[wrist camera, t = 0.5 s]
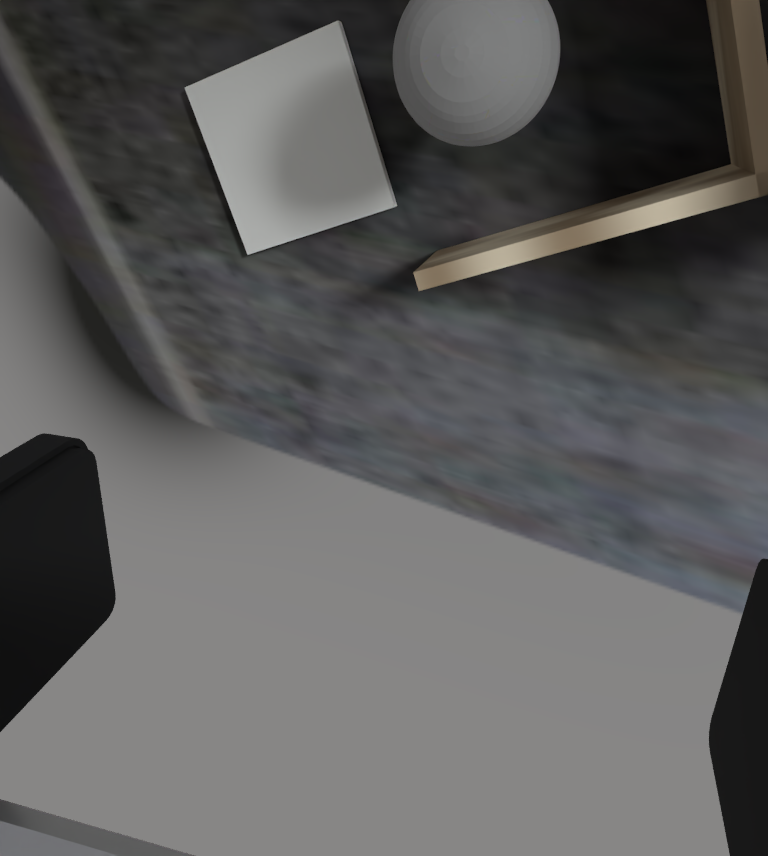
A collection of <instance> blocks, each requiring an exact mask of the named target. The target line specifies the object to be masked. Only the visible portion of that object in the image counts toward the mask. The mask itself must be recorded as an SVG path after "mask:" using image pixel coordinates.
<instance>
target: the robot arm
mask: <svg viewBox="0 0 768 856" xmlns="http://www.w3.org/2000/svg"><path fill="white" fill-rule="evenodd" d="M114 604H115V588H114V580H113V574H112V567H111V560H110V554H109V546H108V539H107V533H106V526H105V519H104V512H103V505H102V498H101V491H100V484H99V477H98V470H97V463H96V459H95V456H94V454H93V453H92V452H91V451H90V450H88V448H87V446H86V445H85V443H84V442H83V441H82V440H80V439H77V438H71V437H64V436H58V435H51V434H40V435H38V436H36V437H34V438H33V439H31V440H29V441H27V442H26V443H24V444H22V445H20V446H19V447H17V448H15V449H14V450H12V451H10V452H9V453H7V454H5V455H3V456H2V457H0V732H1V731H2V730H3V729H4V727H5V726H6V725H7V724H8V723H9V722H10V721H11V720H12V719H13V718H14V717H15V716H16V715H17V714H18V713H19V712H20V711H21V710H22V709H23V708H24V706H25V705H26V704H27V703H28V702H29V701H30V700H31V699H32V698H33V697H34V696H35V695H36V694H37V693H38V692H39V691H40V690H41V689H42V687H43V686H44V685H45V684H46V683H47V682H48V681H49V680H50V679H51V678H52V677H53V676H54V675H55V674H56V673H57V672H58V671H59V670H60V669H61V667H62V666H63V665H64V664H65V663H66V662H67V661H68V660H69V659H70V658H71V657H72V656H73V655H74V654H75V653H76V651H77V650H78V649H80V647H81V646H82V645H83V644H84V643H85V642H86V641H87V640H88V639H89V638H90V637H91V636H92V635H93V634H94V633H95V632H96V631H97V630H98V629H99V627H100V626H101V625H102V624H103V623H104V622H105V621H106V620H107V619H108V617H109V616H110V614H111V612H112V611H113V608H114ZM709 747H710V754H711V759H712V764H713V770H714V775H715V780H716V785H717V790H718V796H719V801H720V805H721V811H722V816H723V821H724V826H725V832H726V837H727V842H728V848H729V853H730V856H768V559H762V560H761V561H760V562H759V564H758V566H757V569H756V572H755V575H754V578H753V582H752V585H751V588H750V592H749V595H748V598H747V602H746V605H745V608H744V612H743V615H742V618H741V622H740V625H739V629H738V632H737V635H736V638H735V642H734V645H733V648H732V652H731V655H730V658H729V662H728V665H727V668H726V672H725V675H724V678H723V682H722V685H721V688H720V692H719V695H718V698H717V702H716V705H715V708H714V712H713V715H712V718H711V723H710V731H709ZM0 856H194V855H191V854H188V853H184V852H181V851H177V850H173V849H170V848H167V847H163V846H160V845H157V844H153V843H149V842H146V841H143V840H139V839H136V838H132V837H129V836H125V835H122V834H119V833H115V832H112V831H108V830H105V829H101V828H98V827H94V826H91V825H87V824H84V823H80V822H77V821H74V820H70V819H67V818H63V817H60V816H56V815H53V814H49V813H46V812H42V811H39V810H35V809H32V808H29V807H25V806H22V805H18V804H15V803H11V802H8V801H4V800H1V799H0Z"/></svg>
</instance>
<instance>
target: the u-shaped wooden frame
mask: <svg viewBox="0 0 768 856" xmlns="http://www.w3.org/2000/svg"><path fill="white" fill-rule="evenodd" d="M706 4H707V10H708V17H709V23H710V30H711V36H712V43H713V49H714V56H715V62H716V69H717V75H718V82H719V88H720V95H721V101H722V108H723V114H724V121H725V128H726V134H727V141H728V147H729V154H730V160H731V164H730V165H726V166H723V167H720V168H716V169H713V170H709V171H706V172H703V173H699V174H696V175H692V176H689V177H686V178H682V179H679V180H675V181H672V182H669V183H665V184H662V185H658V186H655V187H652V188H648V189H645V190H642V191H638V192H635V193H631V194H628V195H625V196H621V197H618V198H614V199H611V200H608V201H604V202H601V203H597V204H594V205H591V206H587V207H584V208H580V209H577V210H574V211H570V212H567V213H563V214H560V215H557V216H553V217H550V218H547V219H543V220H540V221H536V222H533V223H530V224H526V225H523V226H519V227H516V228H513V229H509V230H506V231H502V232H499V233H496V234H492V235H489V236H485V237H482V238H479V239H475V240H472V241H469V242H465V243H462V244H458V245H455V246H452V247H448V248H445V249H441V250H438V251H436V252H435V253H434V254H433V255H432V256H431V257H430V258H428V259H427V260H426V261H425V262H424V263H423V264H422V265H421V266H420V267H419V268H418V269H416V270H415V271H414V272H413V273H414V277H415V280H416V283H417V287H418V290H419V291H421V290H425V289H429V288H432V287H436V286H439V285H443V284H447V283H450V282H454V281H458V280H461V279H465V278H468V277H472V276H476V275H479V274H483V273H486V272H490V271H494V270H497V269H501V268H505V267H508V266H512V265H515V264H519V263H523V262H526V261H530V260H534V259H537V258H541V257H544V256H548V255H552V254H555V253H559V252H562V251H566V250H570V249H573V248H577V247H581V246H584V245H588V244H591V243H595V242H599V241H602V240H606V239H610V238H613V237H617V236H620V235H624V234H628V233H631V232H635V231H638V230H642V229H646V228H649V227H653V226H657V225H660V224H664V223H667V222H671V221H675V220H678V219H682V218H686V217H689V216H693V215H696V214H700V213H704V212H707V211H711V210H715V209H718V208H722V207H725V206H729V205H733V204H736V203H740V202H743V201H747V200H751V199H754V198H758V197H762V196H765V195H768V64H767V57H766V49H765V41H764V34H763V26H762V19H761V11H760V3H759V0H706Z"/></svg>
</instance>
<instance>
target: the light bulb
mask: <svg viewBox="0 0 768 856" xmlns="http://www.w3.org/2000/svg"><path fill="white" fill-rule="evenodd" d="M559 61H560V36H559V30H558V25H557V21H556V18H555V15H554V12H553V10H552V7H551V6H550V4H549V2H548V0H410V2H409V3H408V5H407V7H406V8H405V10H404V12H403V14H402V17H401V19H400V22H399V25H398V27H397V31H396V35H395V40H394V46H393V72H394V78H395V83H396V86H397V90H398V93H399V95H400V98H401V100H402V102H403V104H404V106H405V108H406V109H407V111H408V113H409V114H410V115H411V117H412V118H413V119H414V120H415V122H416V123H417V124H418V125H419V126H420V127H421V128H423V129H424V130H425V131H426V132H428V133H429V134H430V135H432V136H434V137H435V138H437V139H440V140H442V141H444V142H447V143H450V144H454V145H459V146H482V145H488V144H492V143H496V142H499V141H501V140H504V139H506V138H508V137H510V136H512V135H513V134H515V133H517V132H518V131H519V130H521V129H522V128H523V127H525V126H526V125H527V124H528V123H529V122H530V121H531V120H532V119H533V118H534V117H535V116H536V114H537V113H538V112H539V111H540V109H541V108H542V106H543V105H544V103H545V102H546V100H547V98H548V96H549V94H550V92H551V90H552V88H553V85H554V82H555V79H556V76H557V72H558V67H559Z"/></svg>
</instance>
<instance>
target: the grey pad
mask: <svg viewBox="0 0 768 856" xmlns="http://www.w3.org/2000/svg"><path fill="white" fill-rule="evenodd" d="M185 90H186V93H187V96H188V98H189V101H190V104H191V106H192V109H193V112H194V114H195V117H196V119H197V122H198V125H199V127H200V130H201V133H202V135H203V138H204V141H205V143H206V146H207V149H208V151H209V154H210V157H211V159H212V162H213V165H214V167H215V170H216V173H217V175H218V178H219V180H220V183H221V186H222V188H223V191H224V194H225V196H226V199H227V202H228V204H229V207H230V210H231V212H232V215H233V218H234V220H235V223H236V226H237V228H238V231H239V233H240V236H241V239H242V241H243V244H244V247H245V249H246V252H247V255H249V254H252V253H255V252H258V251H261V250H264V249H267V248H271V247H274V246H277V245H280V244H283V243H286V242H289V241H292V240H295V239H298V238H301V237H304V236H307V235H311V234H314V233H317V232H320V231H323V230H326V229H329V228H332V227H335V226H338V225H341V224H344V223H347V222H351V221H354V220H357V219H360V218H363V217H366V216H369V215H372V214H375V213H378V212H381V211H384V210H387V209H391V208H394V207H396V206H397V203H396V200H395V197H394V193H393V190H392V187H391V183H390V180H389V177H388V173H387V170H386V167H385V164H384V160H383V157H382V154H381V150H380V147H379V144H378V140H377V137H376V134H375V131H374V127H373V124H372V121H371V117H370V114H369V111H368V107H367V104H366V101H365V98H364V94H363V91H362V88H361V84H360V81H359V78H358V74H357V71H356V68H355V65H354V61H353V58H352V55H351V51H350V48H349V45H348V41H347V38H346V35H345V32H344V28H343V25H342V22H341V21H336V22H333V23H331V24H329V25H326V26H324V27H322V28H320V29H317V30H315V31H313V32H310V33H308V34H306V35H304V36H301V37H299V38H297V39H294V40H292V41H290V42H288V43H285V44H283V45H281V46H279V47H276V48H274V49H272V50H269V51H267V52H265V53H263V54H260V55H258V56H256V57H253V58H251V59H249V60H247V61H244V62H242V63H240V64H237V65H235V66H233V67H231V68H228V69H226V70H224V71H221V72H219V73H217V74H215V75H212V76H210V77H208V78H205V79H203V80H201V81H199V82H196V83H194V84H192V85H190V86H187V87H185Z"/></svg>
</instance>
